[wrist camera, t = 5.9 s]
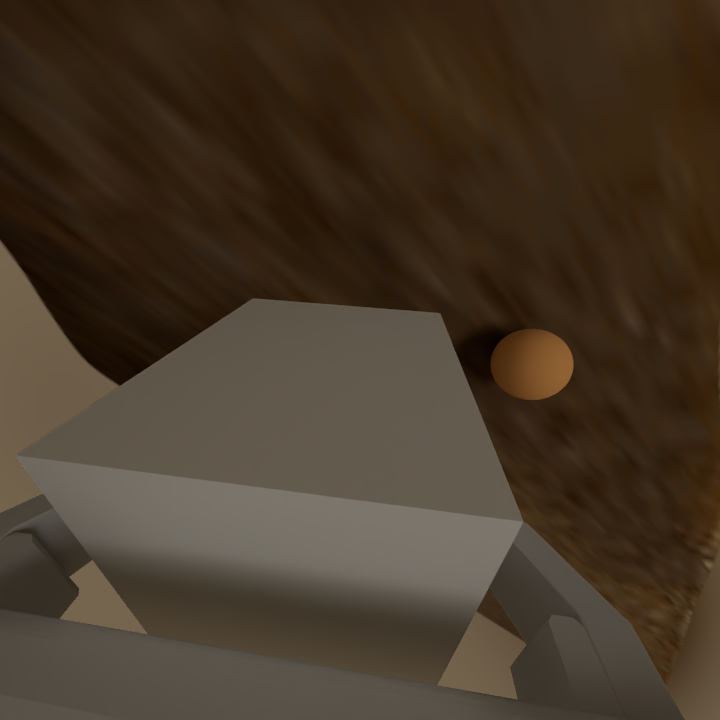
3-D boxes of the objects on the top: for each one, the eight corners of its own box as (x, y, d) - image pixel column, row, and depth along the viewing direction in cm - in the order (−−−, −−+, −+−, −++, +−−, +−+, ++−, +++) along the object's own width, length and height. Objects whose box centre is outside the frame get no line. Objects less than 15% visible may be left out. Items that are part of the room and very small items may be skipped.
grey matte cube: (253, 298, 11) (13, 454, 4) (439, 313, 10) (523, 522, 4) (271, 436, 14) (158, 647, 7) (413, 452, 14) (430, 697, 7)
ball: (490, 316, 22) (515, 343, 17) (561, 320, 21) (604, 349, 17) (476, 374, 24) (494, 411, 19) (539, 379, 23) (572, 418, 19)
